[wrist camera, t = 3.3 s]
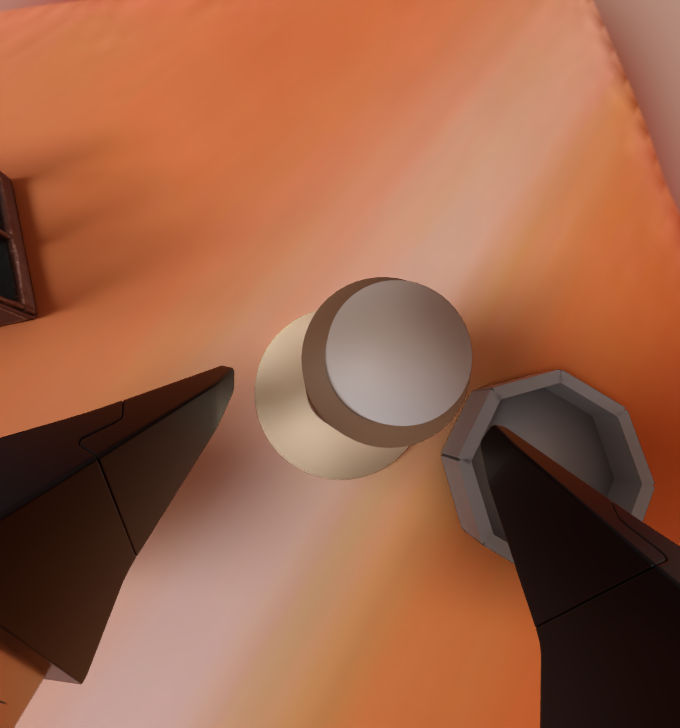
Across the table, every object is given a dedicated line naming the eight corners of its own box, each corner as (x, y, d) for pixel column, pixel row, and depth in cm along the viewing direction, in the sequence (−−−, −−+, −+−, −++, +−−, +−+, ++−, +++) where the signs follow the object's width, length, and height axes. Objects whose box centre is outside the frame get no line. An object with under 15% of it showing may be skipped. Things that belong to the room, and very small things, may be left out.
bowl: (635, 528, 21) (676, 543, 19) (478, 585, 20) (501, 608, 17) (576, 362, 23) (607, 356, 20) (425, 403, 21) (439, 402, 19)
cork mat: (443, 451, 21) (447, 452, 20) (277, 500, 19) (277, 502, 19) (397, 294, 22) (399, 291, 22) (239, 329, 21) (237, 327, 20)
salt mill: (386, 416, 20) (523, 423, 7) (316, 435, 20) (329, 480, 7) (367, 347, 21) (462, 240, 8) (298, 364, 20) (279, 277, 7)
